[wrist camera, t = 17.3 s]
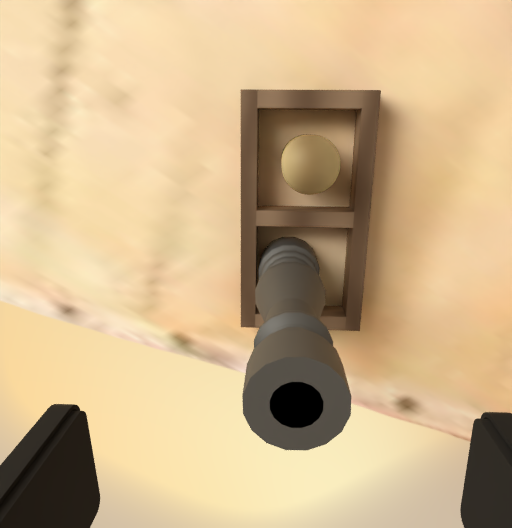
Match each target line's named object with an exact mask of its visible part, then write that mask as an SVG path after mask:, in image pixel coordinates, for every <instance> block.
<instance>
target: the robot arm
mask: <svg viewBox="0 0 512 528" xmlns="http://www.w3.org/2000/svg"><path fill="white" fill-rule="evenodd" d="M99 504H100V493H99V487H98V481H97V475H96V469H95V463H94V458H93V451H92V445H91V439H90V434H89V428H88V422H87V416H86V413H85V412H84V411H80V408H79V407H78V406H77V405H68V404H67V405H66V404H54V405H51V406H50V407H49V408H48V409H47V411H46V412H45V413H44V414H43V415H42V417H41V418H40V419H39V420H38V421H37V422H36V424H35V425H34V426H33V427H32V428H31V430H30V431H29V432H28V433H27V434H26V436H25V437H24V438H23V439H22V440H21V442H20V443H19V444H18V445H17V446H16V447H15V449H14V450H13V451H12V452H11V454H10V455H9V456H8V457H7V458H6V459H5V461H4V462H3V463H2V464H1V465H0V528H90V526H91V524H92V522H93V520H94V518H95V516H96V514H97V512H98V508H99ZM461 518H462V522H463V525H464V528H512V414H511V413H498V412H485V413H483V414H482V416H481V419H475V421H474V424H473V430H472V437H471V443H470V450H469V456H468V464H467V470H466V476H465V483H464V490H463V496H462V502H461Z"/></svg>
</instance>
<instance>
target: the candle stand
mask: <svg viewBox="0 0 512 528" xmlns="http://www.w3.org/2000/svg"><path fill="white" fill-rule="evenodd" d="M380 94H381V90H241V327H257V328H260V326H261V325H262V324H263V323H264V320H263V319H262V317H261V314H260V312H259V310H258V308H257V306H256V302H255V289H256V286H257V240H258V226H288V227H336V228H348V233H347V247H346V260H345V274H344V287H343V301H342V306H326V305H325V306H324V309H323V311H322V314H321V317H320V319H319V320H320V321H321V322H322V323H323V324H324V325H325V326H326V327H327V329H328V330H349V331H360V321H361V310H362V298H363V287H364V276H365V264H366V253H367V242H368V230H369V219H370V208H371V196H372V185H373V173H374V162H375V151H376V139H377V128H378V117H379V105H380ZM259 109H272V110H357V111H356V124H355V138H354V152H353V165H352V179H351V192H350V206H349V207H302V206H258V149H259ZM281 164H282V173H283V176H284V179H285V181H286V182H287V184H288V185H289V186H290V187H291V188H292V189H294V190H295V191H297V192H299V193H302V194H307V195H313V194H318V193H321V192H323V191H325V190H327V189H328V188H329V187H330V186H331V185H332V184H333V183H334V182H335V180H336V179H337V177H338V174H339V171H340V157H339V153H338V151H337V149H336V147H335V146H334V145H333V144H332V143H331V142H330V141H329V140H328V139H326V138H324V137H321V136H318V135H300V136H297V137H295V138H293V139H292V140H290V141H289V142H288V143H287V145H286V146H285V148H284V150H283V152H282V157H281Z"/></svg>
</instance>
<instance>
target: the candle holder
mask: <svg viewBox="0 0 512 528" xmlns="http://www.w3.org/2000/svg"><path fill="white" fill-rule="evenodd" d="M325 295H326V290H325V287H324V285H323V283H322V280H321V278H320V276H319V265H318V261H317V258H316V256H315V253H314V251H313V249H312V248H311V247H310V246H309V245H308V244H307V243H306V242H305V241H303V240H300V239H298V238H295V237H282V238H279V239H277V240H274V241H272V242H271V243H270V244H269V245H268V246H267V247H266V248H265V249H264V251H263V253H262V256H261V258H260V263H259V282H258V284H257V286H256V289H255V302H256V306H257V308H258V310H259V312H260V314H261V317H262V319H263V320H264V323H263V324H262V325H261V326H260V328H259V330H258V332H257V335H256V337H255V339H254V350H253V352H252V354H251V356H250V359H249V361H248V363H247V368H246V375H245V383H244V389H243V414H244V416H245V418H246V420H247V422H248V424H249V426H250V428H251V430H252V431H253V432H255V433H256V434H257V435H258V436H259V437H260V438H262V439H263V440H264V441H265V442H266V443H269V444H271V445H274V446H277V447H280V448H282V449H285V450H309V449H312V448H315V447H318V446H321V445H324V444H327V443H328V442H329V441H330V440H332V439H333V438H334V437H336V436H337V435H338V434H339V433H341V432H342V430H343V428H344V426H345V424H346V422H347V420H348V419H349V417H350V414H351V413H350V412H351V394H350V390H349V386H348V383H347V379H346V375H345V371H344V368H343V364H342V362H341V360H340V357H339V355H338V353H337V350H336V349H335V348H334V347H333V341H332V338H331V336H330V333H329V331H328V329H327V327H326V326H325V325H324V324H323V323H322V322H321V321H320V320H319V319H320V317H321V314H322V311H323V309H324V306H325Z"/></svg>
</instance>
